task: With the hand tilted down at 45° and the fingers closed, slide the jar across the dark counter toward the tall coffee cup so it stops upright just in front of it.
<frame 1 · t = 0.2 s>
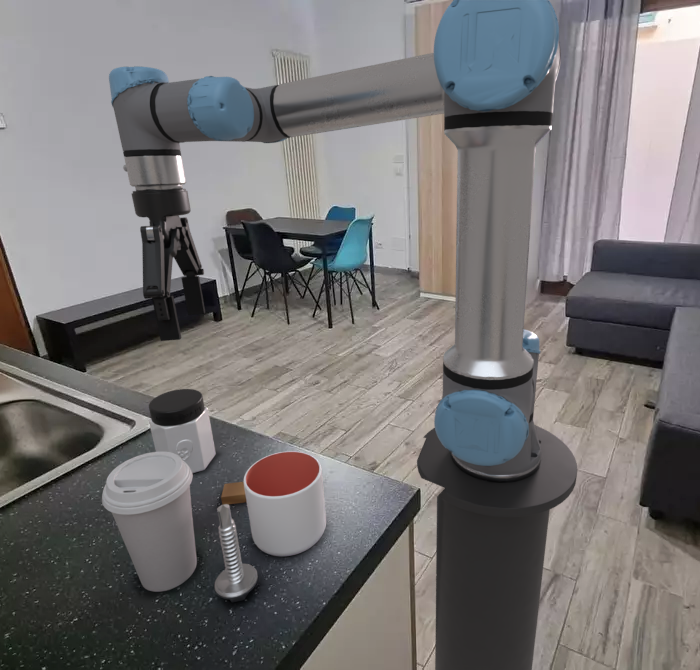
hand: (185, 325, 78), 23 cm above the counter, tool pointing down, fingers open, 13 cm apart
cup: (290, 534, 67), on the counter
jar: (188, 462, 83), on the counter
coffee cup: (169, 571, 61), on the counter
screw: (238, 594, 58), on the counter
brown wooden bar: (267, 493, 75), on the counter
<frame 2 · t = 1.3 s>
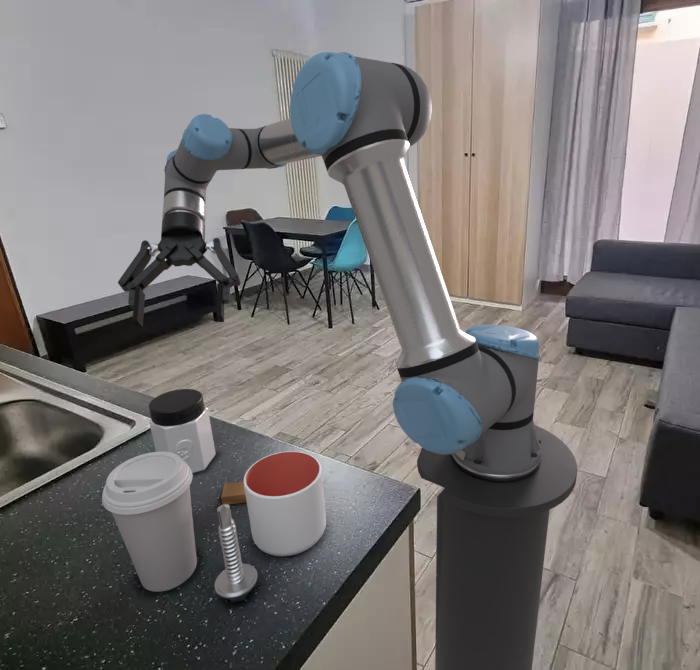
hand: (179, 321, 84), 22 cm above the counter, tool tilted 45°, fingers open, 13 cm apart
nothing on the counter moved.
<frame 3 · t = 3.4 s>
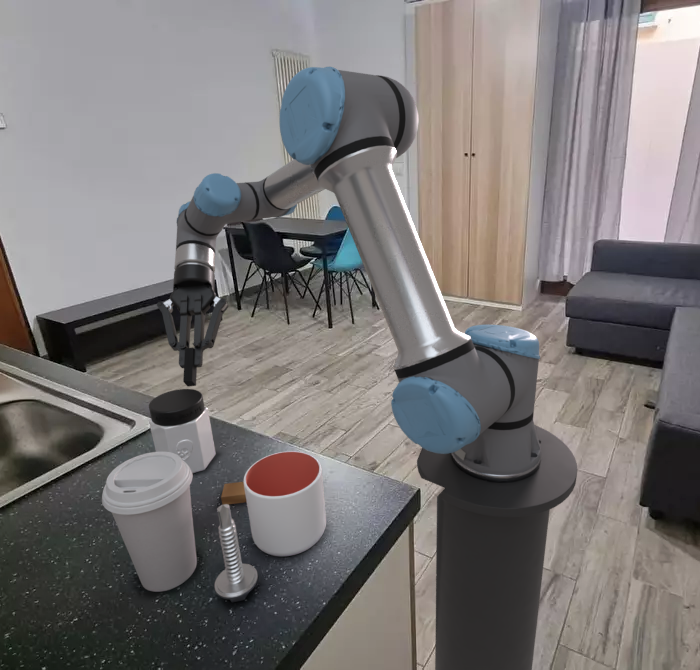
hand: (189, 383, 88), 10 cm above the counter, tool tilted 45°, fingers closed
nothing on the counter moved.
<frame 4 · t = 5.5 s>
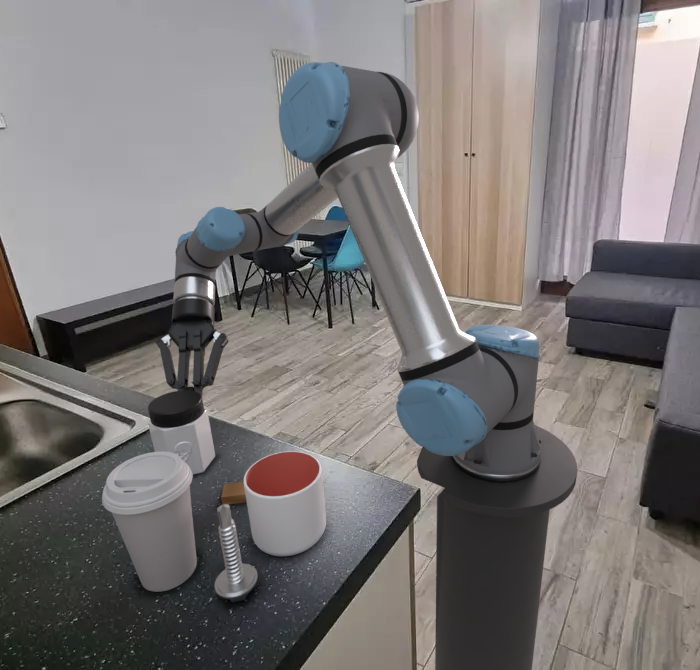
hand: (188, 424, 85), 5 cm above the counter, tool tilted 45°, fingers closed
jar: (188, 464, 83), on the counter, touching gripper
everything else where it was.
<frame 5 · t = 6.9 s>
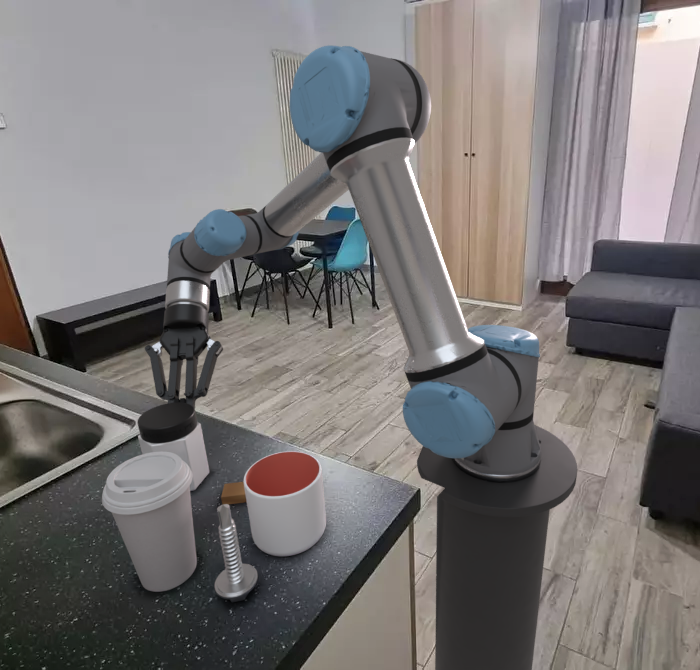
hand: (179, 438, 80), 5 cm above the counter, tool tilted 45°, fingers closed
jar: (180, 480, 79), on the counter, touching gripper
everything else where it was.
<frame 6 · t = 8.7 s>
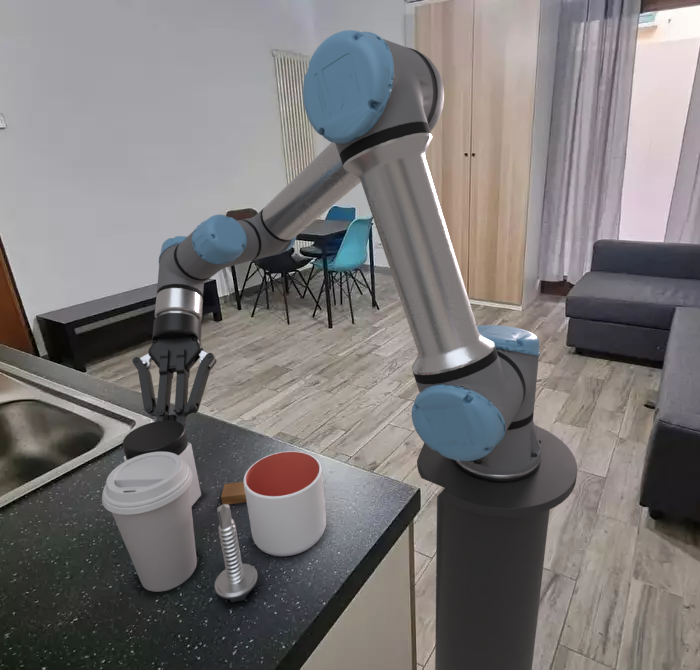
hand: (168, 458, 75), 6 cm above the counter, tool tilted 45°, fingers closed
jar: (170, 504, 73), on the counter, touching gripper
everything else where it was.
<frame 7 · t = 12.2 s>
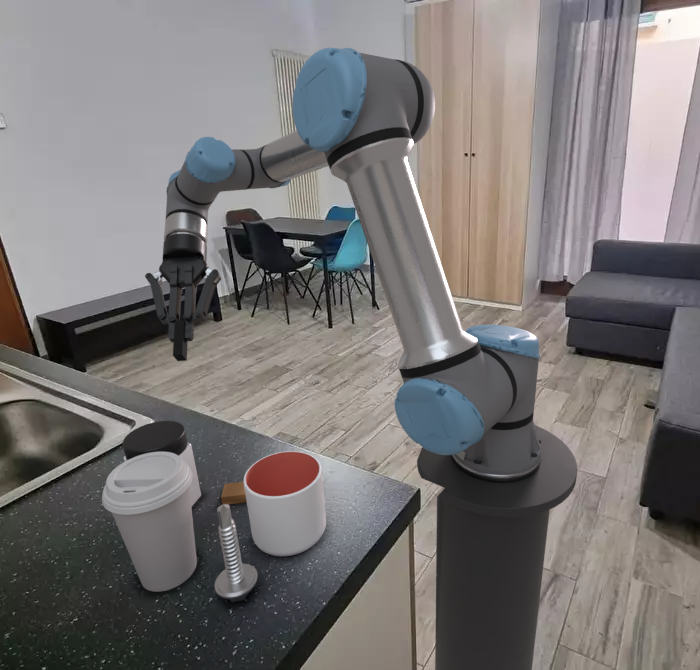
hand: (179, 357, 82), 17 cm above the counter, tool tilted 45°, fingers closed
jar: (170, 504, 73), on the counter
everything else where it was.
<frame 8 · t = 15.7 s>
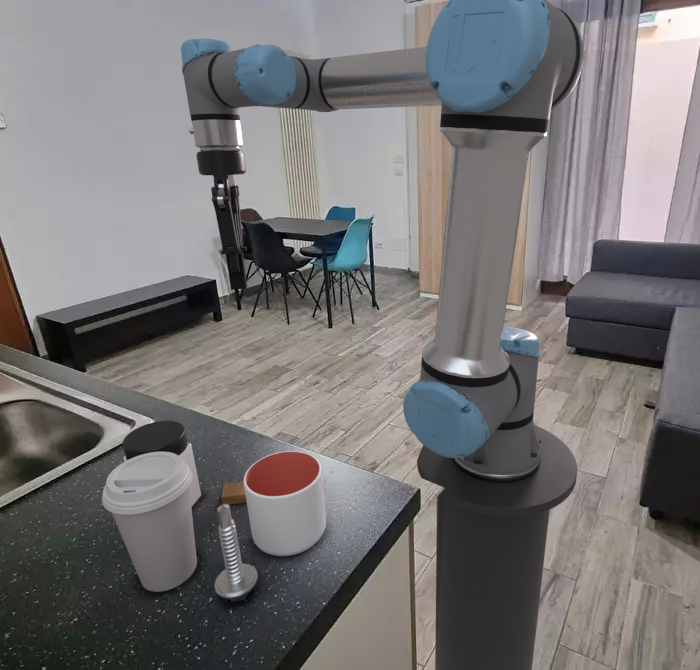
hand: (239, 288, 88), 26 cm above the counter, tool pointing down, fingers closed
nothing on the counter moved.
at the end: jar 13.8 cm from the coffee cup (horizontally); jar moved 10.6 cm from its start; jar tilted 0° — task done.
